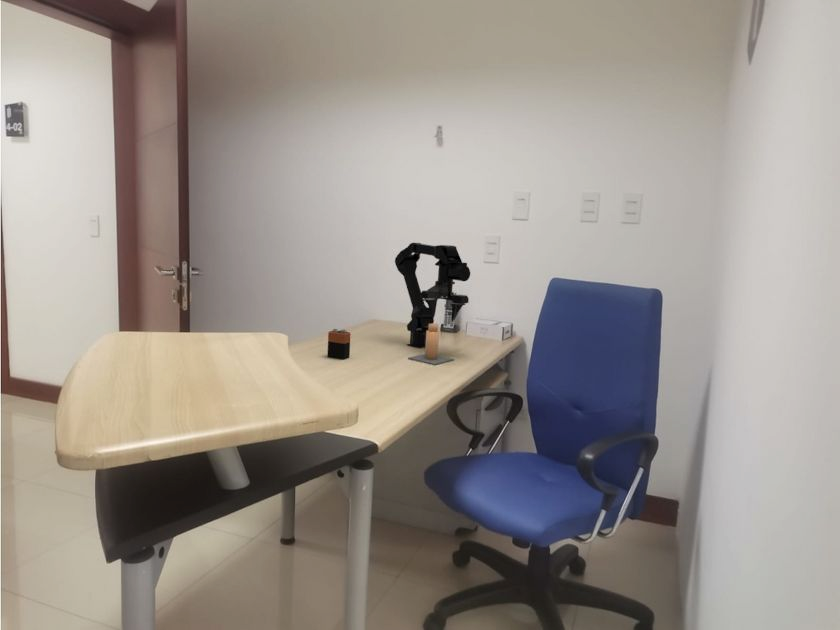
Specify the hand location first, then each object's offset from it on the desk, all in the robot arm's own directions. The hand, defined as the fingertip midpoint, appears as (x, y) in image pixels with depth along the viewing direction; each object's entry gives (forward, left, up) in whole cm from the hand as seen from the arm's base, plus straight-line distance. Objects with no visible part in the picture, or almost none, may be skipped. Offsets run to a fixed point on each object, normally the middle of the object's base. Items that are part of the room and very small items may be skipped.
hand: (442, 319), depth 219 cm
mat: (+5, -13, -13) cm, 19 cm away
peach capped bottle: (+5, -13, -12) cm, 19 cm away
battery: (-18, -37, -13) cm, 43 cm away
